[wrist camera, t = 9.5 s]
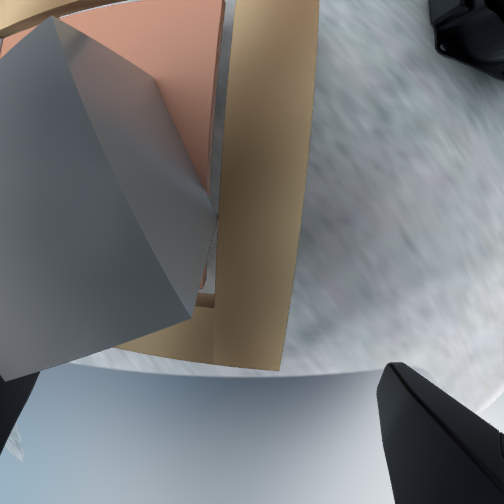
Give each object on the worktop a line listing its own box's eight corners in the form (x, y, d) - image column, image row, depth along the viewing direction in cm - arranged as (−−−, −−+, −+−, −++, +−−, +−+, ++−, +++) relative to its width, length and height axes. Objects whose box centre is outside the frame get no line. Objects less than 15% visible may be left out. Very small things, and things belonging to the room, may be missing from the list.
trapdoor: (225, 5, 8) (222, -7, 7) (206, 278, 12) (201, 290, 11) (1, 47, 8) (-12, 44, 8) (0, 253, 12) (-12, 261, 11)
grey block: (152, 77, 8) (51, 14, 3) (217, 216, 10) (191, 318, 4) (35, 153, 9) (-95, 185, 3) (95, 274, 11) (5, 381, 5)
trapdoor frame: (300, 18, 15) (320, -66, 6) (276, 275, 20) (279, 371, 12) (62, 35, 15) (-27, 6, 7) (57, 252, 20) (-25, 307, 12)
